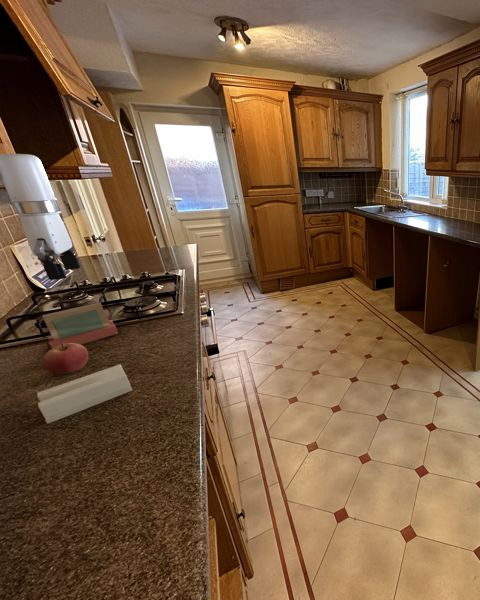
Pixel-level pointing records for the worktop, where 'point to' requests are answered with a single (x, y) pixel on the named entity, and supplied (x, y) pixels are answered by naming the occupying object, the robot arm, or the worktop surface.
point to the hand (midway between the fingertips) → (66, 273)
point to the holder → (82, 393)
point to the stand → (86, 336)
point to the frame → (76, 320)
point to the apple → (65, 358)
